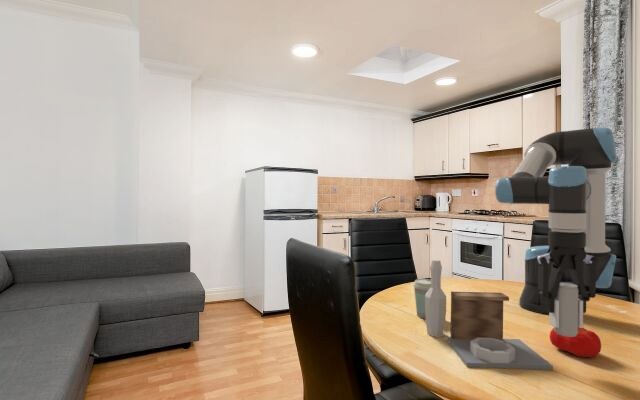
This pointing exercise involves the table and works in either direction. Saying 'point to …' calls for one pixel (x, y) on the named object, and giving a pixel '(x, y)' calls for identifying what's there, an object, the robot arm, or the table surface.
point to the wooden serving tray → (477, 315)
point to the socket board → (498, 353)
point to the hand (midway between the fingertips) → (565, 325)
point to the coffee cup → (421, 295)
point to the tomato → (578, 343)
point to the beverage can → (567, 309)
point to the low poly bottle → (435, 302)
